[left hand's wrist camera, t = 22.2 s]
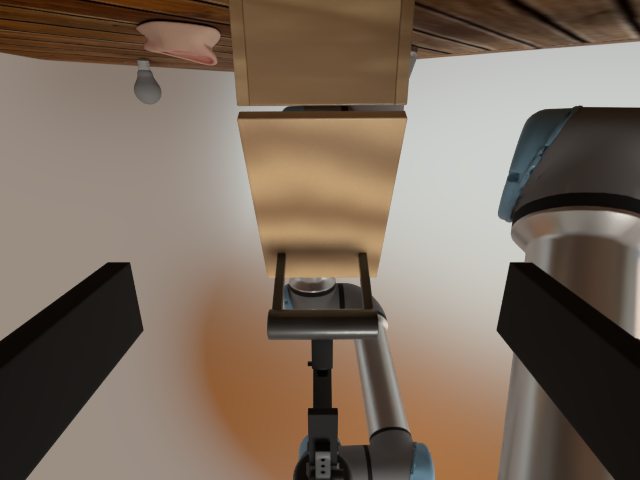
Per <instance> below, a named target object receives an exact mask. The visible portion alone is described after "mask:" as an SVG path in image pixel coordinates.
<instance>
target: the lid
mask: <svg viewBox="0 0 640 480" xmlns="http://www.w3.org/2000/svg"><path fill="white" fill-rule="evenodd" d="M237 121H238V126H239V132H240V137H241V142H242V147H243V152H244V157H245V162H246V167H247V173H248V178H249V183H250V188H251V193H252V198H253V204H254V209H255V214H256V219H257V224H258V229H259V234H260V239H261V244H262V250H263V255H264V260H265V265H266V270H267V275H268V278H275V285H274V295H273V305H272V309H270V310H269V312H268V319H267V334H268V339H269V340H317V339H377V338H378V333H379V322H378V313H377V310H376V309H373V302H372V294H371V285H370V277H376V276H377V271H378V266H379V261H380V256H381V251H382V246H383V241H384V235H385V230H386V225H387V220H388V215H389V210H390V204H391V199H392V194H393V189H394V184H395V179H396V174H397V168H398V163H399V158H400V153H401V148H402V143H403V138H404V133H405V127H406V122H407V116H406V113H405V111H280V112H239V115H238V119H237ZM326 277H360V283H361V294H362V305H363V309H283V296H284V282H285V278H326Z"/></svg>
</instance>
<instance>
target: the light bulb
mask: <svg viewBox="0 0 640 480" xmlns="http://www.w3.org/2000/svg"><path fill="white" fill-rule="evenodd" d="M137 62H138V66H139V67H138V77H137V80H136V83H135V85H134V92H135V95H136V96H137V98H138V99H139V100H140V101H141V102H143V103H145V104H154V103H156V102H158V101H159V99H160V97H161V89H160V86H159V85H158V83H157V82H156V80H155V79H154V77H153V74H152V72H151V70H150V68H149V67H150V66H149V65H150V64H149V61H147V60H146V59H140V60H138V61H137Z"/></svg>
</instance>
